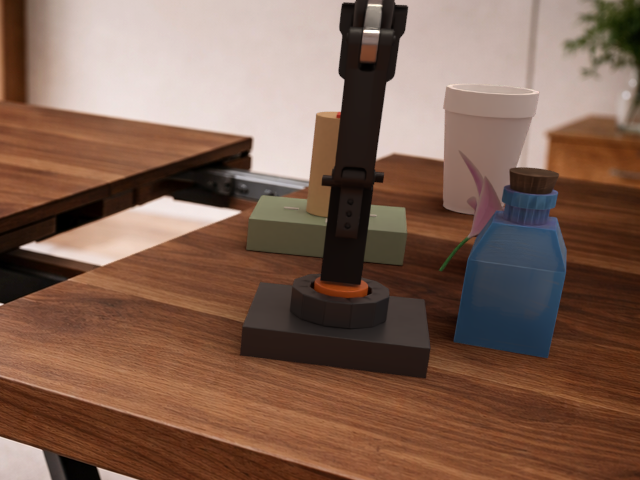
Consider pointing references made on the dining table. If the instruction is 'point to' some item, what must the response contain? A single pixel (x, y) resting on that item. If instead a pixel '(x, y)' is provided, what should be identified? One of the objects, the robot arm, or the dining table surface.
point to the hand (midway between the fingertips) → (340, 279)
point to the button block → (338, 328)
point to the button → (341, 289)
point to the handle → (322, 161)
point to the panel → (322, 230)
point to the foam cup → (483, 137)
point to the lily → (478, 205)
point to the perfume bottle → (516, 270)
